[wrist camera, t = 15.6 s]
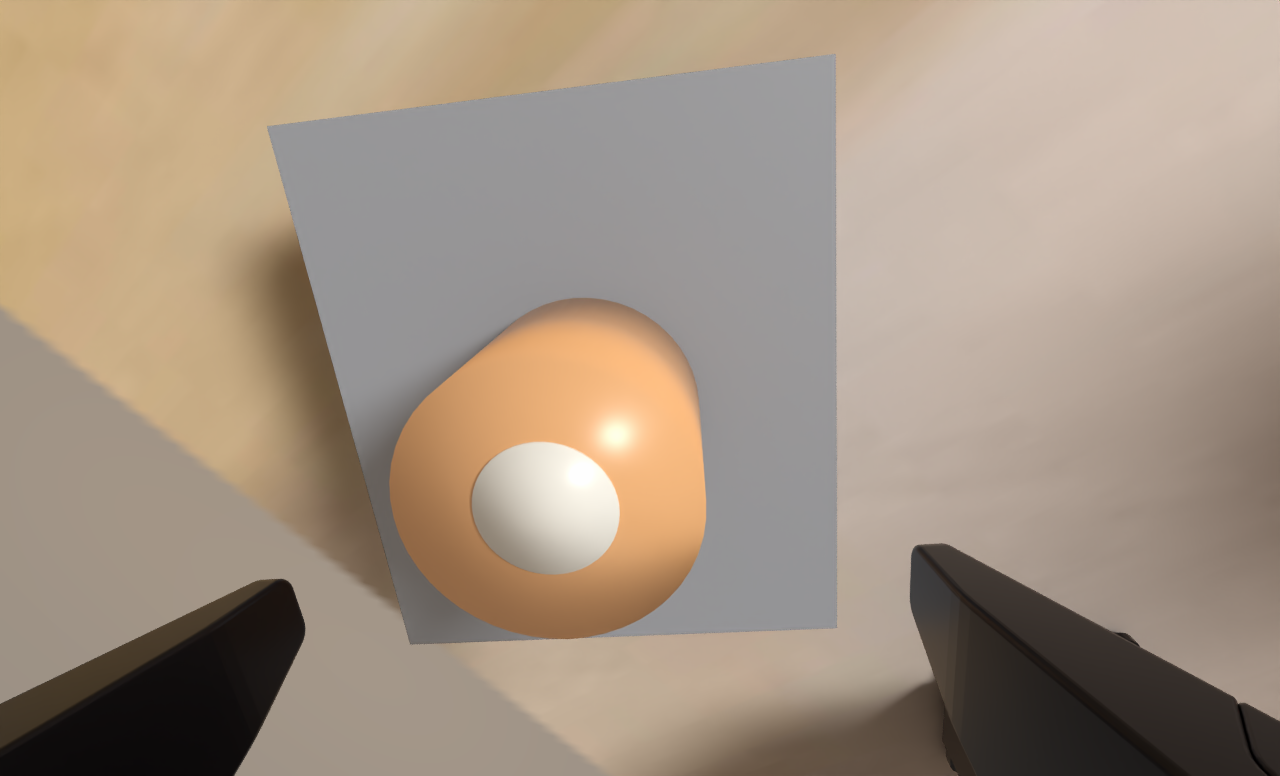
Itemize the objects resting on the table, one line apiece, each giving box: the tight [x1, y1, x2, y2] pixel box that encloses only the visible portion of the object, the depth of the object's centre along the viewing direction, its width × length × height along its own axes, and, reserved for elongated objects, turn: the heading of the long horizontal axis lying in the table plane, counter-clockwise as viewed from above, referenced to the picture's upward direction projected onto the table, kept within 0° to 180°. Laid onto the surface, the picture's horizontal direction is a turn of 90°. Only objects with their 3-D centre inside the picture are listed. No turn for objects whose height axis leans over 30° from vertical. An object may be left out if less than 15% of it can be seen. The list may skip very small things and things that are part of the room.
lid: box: [267, 54, 837, 644], centre depth 16 cm, size 12×14×1 cm
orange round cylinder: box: [389, 298, 706, 639], centre depth 13 cm, size 6×6×5 cm
